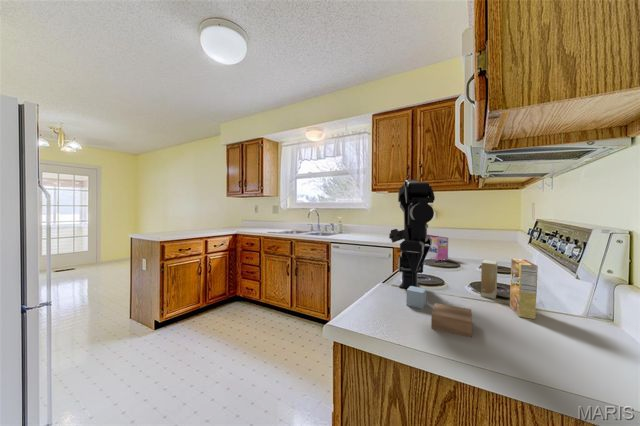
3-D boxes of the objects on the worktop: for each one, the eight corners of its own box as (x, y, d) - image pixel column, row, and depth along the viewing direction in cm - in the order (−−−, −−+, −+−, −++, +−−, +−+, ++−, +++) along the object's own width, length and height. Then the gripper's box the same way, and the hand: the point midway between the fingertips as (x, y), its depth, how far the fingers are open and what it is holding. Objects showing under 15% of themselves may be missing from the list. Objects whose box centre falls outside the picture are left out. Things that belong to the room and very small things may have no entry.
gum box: (411, 253, 170) (411, 233, 170) (420, 253, 173) (421, 233, 172) (437, 260, 148) (438, 238, 147) (448, 260, 150) (448, 237, 150)
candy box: (508, 306, 80) (510, 258, 79) (525, 308, 78) (526, 259, 78) (518, 317, 72) (519, 264, 71) (537, 319, 70) (538, 265, 70)
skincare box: (482, 291, 93) (483, 259, 93) (496, 294, 90) (497, 260, 90) (480, 296, 88) (481, 262, 88) (495, 299, 85) (496, 263, 85)
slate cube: (410, 300, 84) (410, 285, 84) (425, 303, 81) (426, 288, 81) (406, 305, 80) (406, 289, 80) (423, 308, 77) (423, 292, 77)
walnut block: (434, 316, 72) (435, 302, 72) (471, 323, 68) (471, 309, 68) (431, 329, 65) (431, 314, 65) (471, 338, 60) (472, 322, 60)
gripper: (399, 219, 92) (399, 261, 93) (383, 221, 77) (382, 272, 77) (432, 220, 86) (431, 265, 87) (421, 223, 71) (420, 278, 71)
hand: (416, 269), depth 81 cm, fingers open, 9 cm apart
